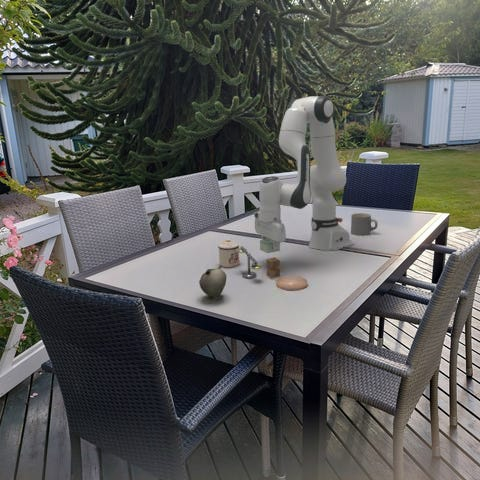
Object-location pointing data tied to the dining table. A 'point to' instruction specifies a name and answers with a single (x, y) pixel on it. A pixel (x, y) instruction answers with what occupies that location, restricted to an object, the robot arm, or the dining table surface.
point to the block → (273, 267)
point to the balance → (254, 265)
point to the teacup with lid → (228, 253)
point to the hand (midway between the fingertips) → (269, 247)
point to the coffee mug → (362, 224)
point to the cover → (268, 246)
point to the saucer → (291, 283)
